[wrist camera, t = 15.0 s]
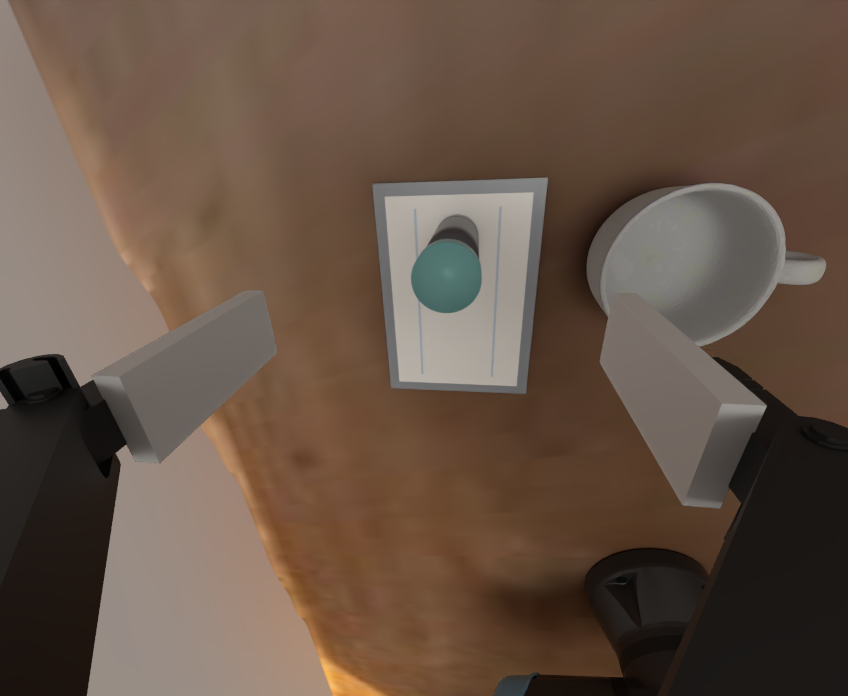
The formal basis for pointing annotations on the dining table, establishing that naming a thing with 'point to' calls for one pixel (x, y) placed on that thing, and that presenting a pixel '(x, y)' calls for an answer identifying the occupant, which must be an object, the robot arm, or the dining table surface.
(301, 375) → the dining table surface
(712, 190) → the teacup
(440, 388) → the small whiteboard
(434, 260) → the marker
